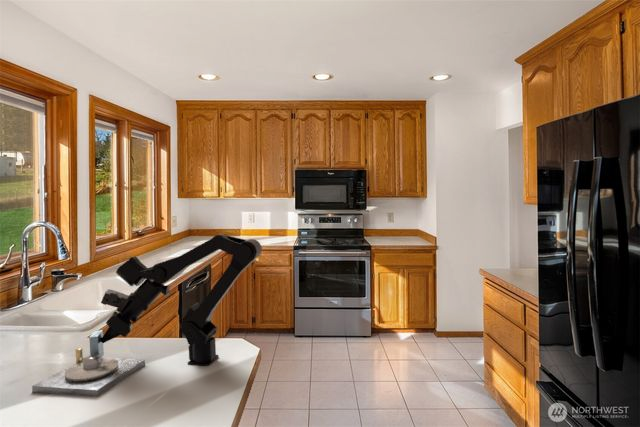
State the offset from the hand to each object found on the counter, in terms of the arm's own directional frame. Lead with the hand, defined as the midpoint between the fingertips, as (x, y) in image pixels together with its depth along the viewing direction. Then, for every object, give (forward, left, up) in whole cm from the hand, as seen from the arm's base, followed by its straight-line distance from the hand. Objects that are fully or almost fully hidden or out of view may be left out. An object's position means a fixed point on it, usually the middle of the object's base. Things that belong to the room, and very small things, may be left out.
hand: (102, 341), depth 110 cm
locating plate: (-2, +7, -7) cm, 10 cm away
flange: (-2, +5, -5) cm, 8 cm away
